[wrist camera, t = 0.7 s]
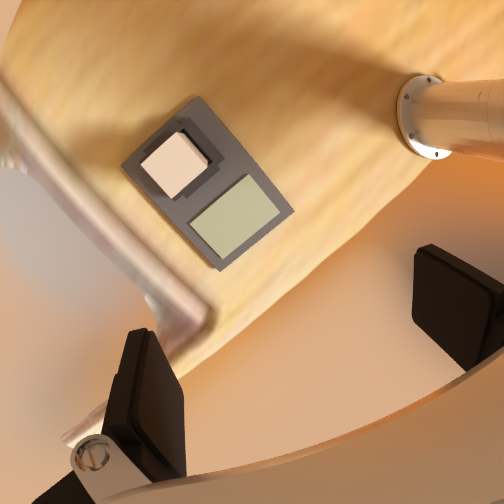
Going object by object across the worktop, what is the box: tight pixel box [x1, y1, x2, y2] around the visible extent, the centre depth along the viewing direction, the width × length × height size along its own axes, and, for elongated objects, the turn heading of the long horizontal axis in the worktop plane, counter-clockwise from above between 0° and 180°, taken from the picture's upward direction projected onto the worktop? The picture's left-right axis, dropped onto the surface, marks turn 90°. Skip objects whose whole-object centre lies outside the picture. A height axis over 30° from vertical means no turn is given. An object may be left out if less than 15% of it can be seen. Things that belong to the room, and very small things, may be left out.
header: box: [121, 96, 295, 272], centre depth 35 cm, size 12×18×4 cm, turn 39°
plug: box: [141, 132, 208, 199], centre depth 29 cm, size 4×4×10 cm
